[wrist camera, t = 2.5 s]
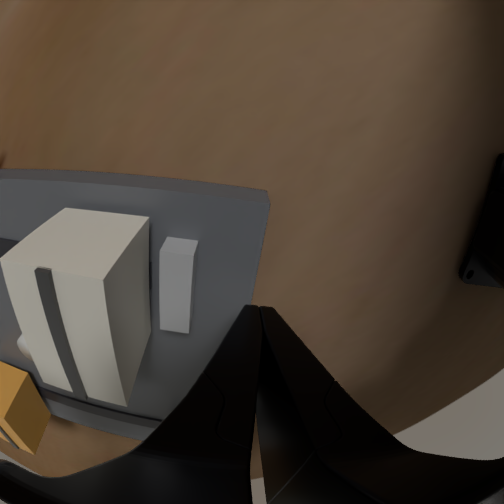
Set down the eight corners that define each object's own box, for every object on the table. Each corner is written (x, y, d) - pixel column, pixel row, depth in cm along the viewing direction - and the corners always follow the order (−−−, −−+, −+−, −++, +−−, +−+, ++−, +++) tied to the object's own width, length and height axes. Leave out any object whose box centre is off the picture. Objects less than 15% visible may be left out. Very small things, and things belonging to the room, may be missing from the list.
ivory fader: (149, 217, 9) (99, 284, 5) (151, 331, 11) (126, 410, 7) (65, 207, 8) (-4, 261, 5) (80, 317, 10) (41, 385, 7)
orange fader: (28, 372, 12) (2, 420, 9) (51, 414, 14) (34, 457, 11) (-7, 358, 12) (-33, 399, 9) (18, 400, 14) (0, 439, 11)
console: (266, 190, 10) (273, 215, 8) (220, 433, 17) (219, 465, 15) (-76, 171, 8) (-103, 185, 6) (-15, 367, 15) (-28, 387, 13)
